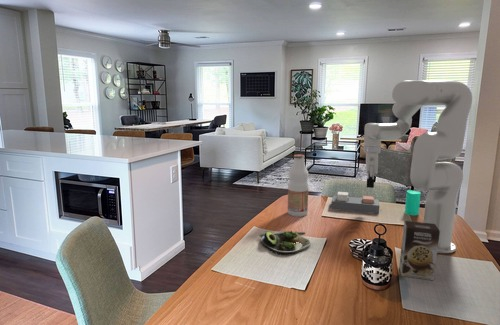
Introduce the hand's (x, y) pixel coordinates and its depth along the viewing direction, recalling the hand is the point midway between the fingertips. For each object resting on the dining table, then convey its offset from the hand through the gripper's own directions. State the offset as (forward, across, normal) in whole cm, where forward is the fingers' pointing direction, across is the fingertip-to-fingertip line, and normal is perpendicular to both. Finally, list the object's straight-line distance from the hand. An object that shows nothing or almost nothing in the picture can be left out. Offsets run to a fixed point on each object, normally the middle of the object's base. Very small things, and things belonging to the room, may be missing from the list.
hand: (370, 187), depth 161 cm
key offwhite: (+8, +1, +13) cm, 15 cm away
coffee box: (+14, -58, -13) cm, 61 cm away
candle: (+12, +2, -19) cm, 23 cm away
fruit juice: (+12, -16, +32) cm, 38 cm away
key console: (+11, +1, +7) cm, 13 cm away
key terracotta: (+9, +1, +1) cm, 9 cm away
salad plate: (+13, -50, +31) cm, 60 cm away
